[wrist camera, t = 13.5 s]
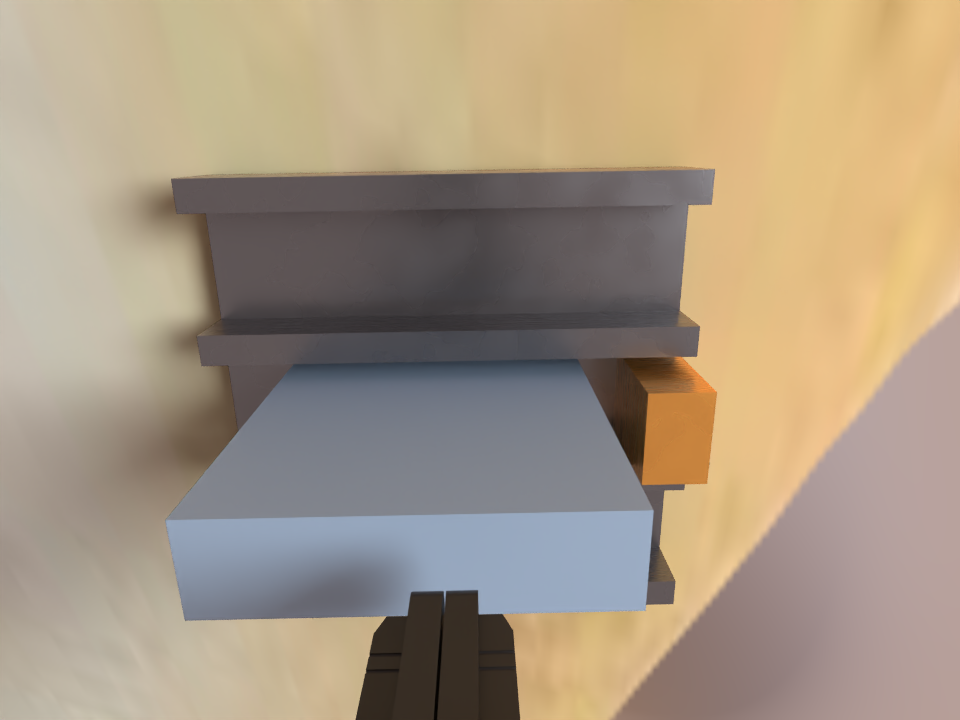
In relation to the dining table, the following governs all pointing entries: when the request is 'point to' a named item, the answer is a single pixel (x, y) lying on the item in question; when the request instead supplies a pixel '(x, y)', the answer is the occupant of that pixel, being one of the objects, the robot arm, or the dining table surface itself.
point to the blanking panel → (416, 496)
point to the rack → (471, 289)
